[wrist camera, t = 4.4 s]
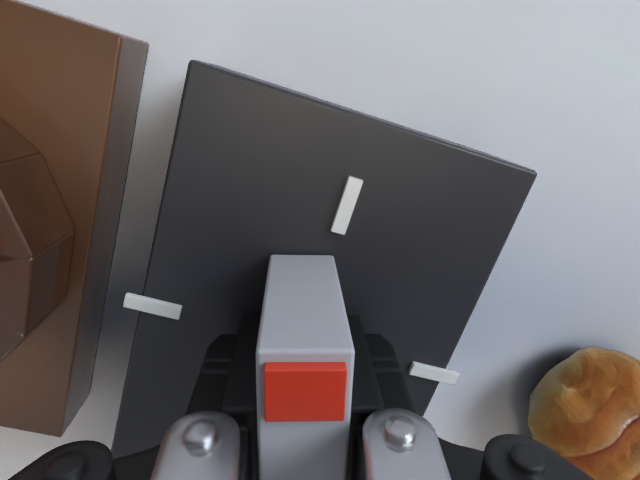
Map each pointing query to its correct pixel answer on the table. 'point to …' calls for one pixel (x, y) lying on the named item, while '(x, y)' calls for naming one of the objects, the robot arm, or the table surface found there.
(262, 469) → the grey block red tab
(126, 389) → the panel
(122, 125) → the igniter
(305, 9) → the table surface
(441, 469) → the robot arm
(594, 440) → the pastry
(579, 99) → the table surface
